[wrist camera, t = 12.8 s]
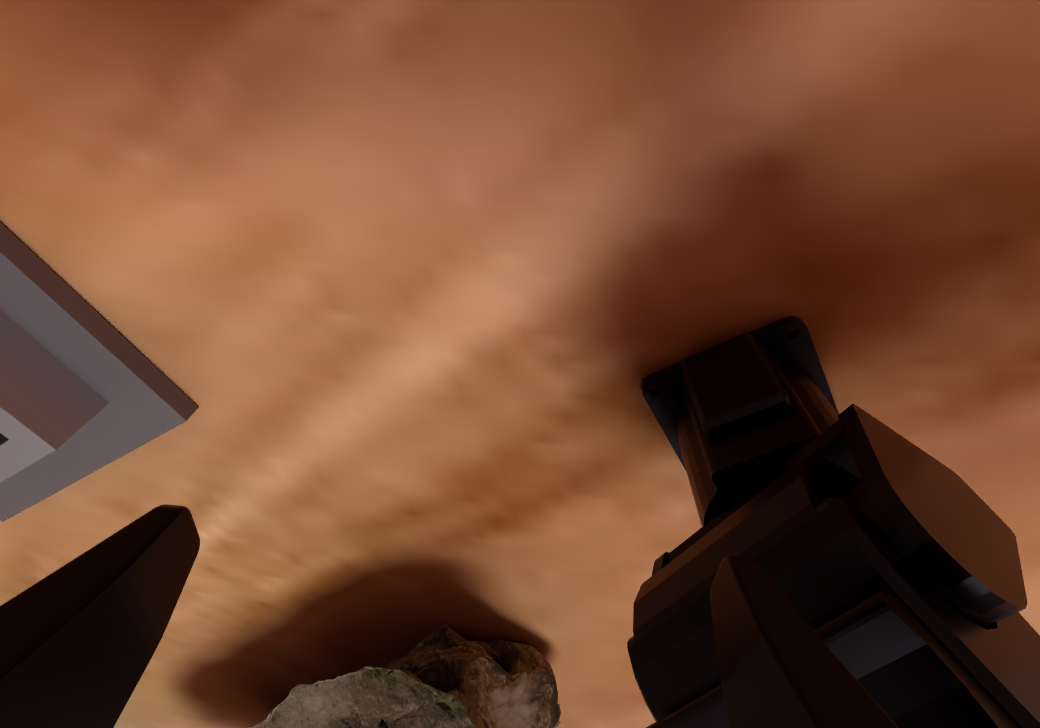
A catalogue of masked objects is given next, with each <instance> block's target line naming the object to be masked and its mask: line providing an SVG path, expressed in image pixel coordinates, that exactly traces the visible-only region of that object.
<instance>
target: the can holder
mask: <svg viewBox="0 0 1040 728" xmlns="http://www.w3.org/2000/svg"><path fill="white" fill-rule="evenodd" d="M198 408H199V407H198V406H197V405H196V404H195V403H194V402H193V401H192V400H191V399H190V398H189V397H188V396H186V395H185V394H184V393H183V392H182V391H181V390H180V389H179V388H178V387H177V386H176V385H175V384H174V383H173V382H171V381H170V380H169V379H168V378H167V377H166V376H165V375H164V374H163V373H162V372H161V371H160V370H159V369H158V368H156V367H155V366H154V365H153V364H152V363H151V362H150V361H149V360H148V359H147V358H146V357H145V356H144V355H143V354H141V353H140V352H139V351H138V350H137V349H136V348H135V347H134V346H133V345H132V344H131V343H130V342H129V341H128V340H126V339H125V338H124V337H123V336H122V335H121V334H120V333H119V332H118V331H117V330H116V329H115V328H114V327H113V326H111V325H110V324H109V323H108V322H107V321H106V320H105V319H104V318H103V317H102V316H101V315H100V314H99V313H98V312H96V311H95V310H94V309H93V308H92V307H91V306H90V305H89V304H88V303H87V302H86V301H85V300H84V299H83V298H81V297H80V296H79V295H78V294H77V293H76V292H75V291H74V290H73V289H72V288H71V287H70V286H69V285H68V284H66V283H65V282H64V281H63V280H62V279H61V278H60V277H59V276H58V275H57V274H56V273H55V272H54V271H53V270H51V269H50V268H49V267H48V266H47V265H46V264H45V263H44V262H43V261H42V260H41V259H40V258H39V257H38V256H36V255H35V254H34V253H33V252H32V251H31V250H30V249H29V248H28V247H27V246H26V245H25V244H24V243H23V242H21V241H20V240H19V239H18V238H17V237H16V236H15V235H14V234H13V233H12V232H11V231H10V230H9V229H8V228H6V227H5V226H4V225H3V224H2V223H1V222H0V520H1V521H2V522H3V521H5V520H7V519H9V518H11V517H12V516H14V515H16V514H18V513H20V512H21V511H23V510H25V509H27V508H29V507H31V506H32V505H34V504H36V503H38V502H40V501H42V500H43V499H45V498H47V497H49V496H51V495H52V494H54V493H56V492H58V491H60V490H62V489H63V488H65V487H67V486H69V485H71V484H72V483H74V482H76V481H78V480H80V479H82V478H83V477H85V476H87V475H89V474H91V473H92V472H94V471H96V470H98V469H100V468H102V467H103V466H105V465H107V464H109V463H111V462H113V461H114V460H116V459H118V458H120V457H122V456H123V455H125V454H127V453H129V452H131V451H133V450H134V449H136V448H138V447H140V446H142V445H143V444H145V443H147V442H149V441H151V440H153V439H154V438H156V437H158V436H160V435H162V434H164V433H165V432H167V431H169V430H171V429H173V428H174V427H176V426H178V425H180V424H182V423H184V422H185V421H187V420H188V419H189V417H190V416H191V415H192V414H193V413H194V412H195V411H196V410H197V409H198Z"/></svg>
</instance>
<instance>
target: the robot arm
mask: <svg viewBox="0 0 1040 728" xmlns="http://www.w3.org/2000/svg"><path fill="white" fill-rule="evenodd" d="M792 327H797V328H796V330H795V331H794V332H793V333H790V334H786V332H787V331H788V330H789V329H790V328H792ZM653 385H657V386H659V387H658V388H657V389H655V390H651V389H649V387H651V386H653ZM641 389H642V393H643V396H644V398H645V399H646V401H647V403H648V405H649V406H650V408H651V410H652V412H653V413H654V415H655V417H656V419H657V420H658V422H659V424H660V426H661V428H662V429H663V431H664V433H665V435H666V436H667V438H668V440H669V442H670V443H671V445H672V447H673V449H674V450H675V452H676V454H677V456H678V457H679V459H680V461H681V463H682V464H683V466H684V468H685V470H686V471H687V475H688V478H689V482H690V486H691V489H692V493H693V496H694V500H695V503H696V507H697V511H698V514H699V518H700V521H701V525H702V528H701V529H699V530H698V531H697V532H696V533H694V534H693V535H692V536H691V537H689V538H688V539H687V540H685V541H684V542H683V543H682V544H680V545H679V546H678V547H677V548H675V549H674V550H673V551H671V552H670V553H668V552H666V553H664V554H663V555H661V556H660V557H659V558H658V559H656V560H655V562H654V567H653V572H652V577H650V578H649V579H648V580H647V581H645V582H644V583H643V584H642V585H641V587H640V590H639V592H638V595H637V597H636V599H635V602H634V618H633V633H634V636H633V637H631V638H630V639H629V640H628V642H627V648H628V653H629V657H630V661H631V664H632V668H633V672H634V676H635V679H636V681H637V684H638V686H639V689H640V691H641V693H642V696H643V698H644V701H645V703H646V705H647V707H648V709H649V710H650V712H651V714H652V716H653V717H654V719H655V721H656V722H655V723H653V724H651V725H650V726H648V727H646V728H1040V635H1039V634H1038V633H1037V632H1036V631H1035V630H1034V629H1033V628H1032V627H1031V626H1030V624H1029V623H1028V622H1027V621H1026V620H1025V619H1024V618H1023V617H1022V616H1021V615H1020V613H1019V611H1021V610H1023V609H1025V608H1026V606H1027V598H1026V592H1025V587H1024V581H1023V575H1022V570H1021V564H1020V558H1019V553H1018V547H1017V541H1016V536H1015V534H1014V533H1013V532H1012V530H1011V529H1010V528H1009V527H1008V526H1007V525H1006V524H1005V523H1004V522H1003V521H1002V520H1001V519H1000V518H999V517H998V516H997V515H996V514H995V513H994V512H993V511H992V510H991V509H990V508H989V506H988V505H987V504H986V503H985V502H984V501H983V500H982V499H981V498H980V497H979V496H978V495H977V494H976V493H975V492H974V491H973V490H972V489H971V488H970V487H969V486H968V485H967V484H966V483H965V482H964V481H963V480H962V479H961V478H960V477H959V476H958V475H957V474H956V473H955V472H953V471H952V470H951V469H949V468H948V467H946V466H945V465H943V464H942V463H940V462H939V461H937V460H936V459H934V458H933V457H932V456H930V455H929V454H927V453H926V452H924V451H923V450H921V449H920V448H918V447H917V446H915V445H914V444H912V443H911V442H909V441H908V440H907V439H905V438H904V437H902V436H901V435H899V434H898V433H896V432H895V431H893V430H892V429H890V428H889V427H887V426H886V425H885V424H883V423H882V422H880V421H879V420H877V419H876V418H874V417H873V416H871V415H870V414H868V413H867V412H865V411H864V410H862V409H861V408H860V407H858V406H857V405H855V404H852V405H851V406H849V407H848V408H847V409H845V410H844V411H843V412H842V413H840V414H838V412H837V409H836V406H835V403H834V400H833V398H832V395H831V392H830V389H829V387H828V384H827V381H826V378H825V376H824V373H823V370H822V367H821V365H820V362H819V359H818V356H817V354H816V351H815V348H814V345H813V342H812V340H811V337H810V334H809V331H808V329H807V327H806V325H805V324H804V323H803V321H802V320H801V319H800V318H798V317H795V316H790V317H786V318H784V319H781V320H779V321H776V322H774V323H772V324H769V325H767V326H765V327H762V328H760V329H758V330H755V331H753V332H750V333H748V334H742V335H740V336H737V337H735V338H732V339H730V340H728V341H725V342H723V343H721V344H718V345H716V346H714V347H711V348H709V349H707V350H704V351H702V352H699V353H697V354H695V355H692V356H690V357H688V358H685V359H684V360H683V361H682V362H680V363H677V364H675V365H672V366H670V367H668V368H665V369H663V370H661V371H658V372H656V373H654V374H651V375H649V376H647V377H645V378H644V379H643V381H642V382H641ZM199 547H200V538H199V535H198V532H197V529H196V526H195V523H194V520H193V518H192V515H191V512H190V510H189V509H188V508H187V507H185V506H177V505H160V506H158V507H156V508H154V509H152V510H151V511H149V512H148V513H146V514H145V515H143V516H141V517H140V518H138V519H137V520H135V521H134V522H132V523H130V524H129V525H127V526H126V527H124V528H123V529H121V530H119V531H118V532H116V533H115V534H113V535H112V536H110V537H108V538H107V539H105V540H104V541H102V542H101V543H99V544H97V545H96V546H94V547H93V548H91V549H90V550H88V551H86V552H85V553H83V554H82V555H80V556H79V557H77V558H75V559H74V560H72V561H71V562H69V563H67V564H66V565H64V566H63V567H61V568H60V569H58V570H56V571H55V572H53V573H52V574H50V575H49V576H47V577H45V578H44V579H42V580H41V581H39V582H38V583H36V584H34V585H33V586H31V587H30V588H28V589H27V590H25V591H23V592H22V593H20V594H19V595H17V596H16V597H14V598H12V599H11V600H9V601H8V602H6V603H5V604H3V605H1V606H0V728H113V727H114V725H115V723H116V722H117V720H118V718H119V716H120V714H121V713H122V711H123V709H124V707H125V705H126V703H127V702H128V700H129V698H130V696H131V694H132V692H133V691H134V689H135V687H136V685H137V683H138V681H139V680H140V678H141V676H142V674H143V672H144V670H145V669H146V667H147V665H148V663H149V661H150V659H151V658H152V656H153V654H154V652H155V650H156V648H157V646H158V644H159V642H160V640H161V638H162V636H163V634H164V631H165V629H166V627H167V625H168V622H169V620H170V618H171V615H172V613H173V611H174V608H175V606H176V604H177V601H178V599H179V596H180V594H181V592H182V589H183V587H184V585H185V582H186V580H187V578H188V575H189V573H190V571H191V568H192V566H193V563H194V561H195V559H196V556H197V554H198V551H199Z"/></svg>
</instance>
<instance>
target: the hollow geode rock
mask: <svg viewBox="0 0 1040 728" xmlns="http://www.w3.org/2000/svg"><path fill="white" fill-rule="evenodd" d="M557 702H558V691H557V686H556V680H555V676H554V673H553V670H552V668H551V666H550V664H549V663H548V662H547V660H546V659H545V658H544V656H543V655H542V654H541V653H540V652H538V651H537V650H536V649H535V648H534V647H532V646H530V645H526V644H521V643H516V642H511V641H506V640H497V641H489V642H478V641H469V640H466V639H464V638H463V637H461V636H460V635H459V634H458V633H457V632H456V631H454V630H453V629H451V628H450V627H449V626H448V625H446V624H444V625H443V626H441V627H440V628H438V629H437V630H436V631H434V632H433V633H431V634H430V635H429V636H427V637H426V638H425V639H424V640H422V641H421V642H420V643H418V644H417V645H416V646H415V647H414V648H413V649H412V650H411V651H410V652H409V653H408V654H407V655H405V656H404V657H397V658H396V659H394V660H393V661H392V662H391V663H390V664H389V665H388V666H387V667H385V668H379V667H367V666H365V667H363V668H362V669H361V670H359V671H356V672H354V673H348V674H345V675H343V676H338V677H337V678H335V679H333V680H329V679H328V680H325V681H318V682H316V683H314V684H311V685H309V684H296V685H295V686H294V687H293V688H292V689H291V691H290V693H289V695H288V697H287V698H286V699H285V700H284V701H283V702H282V703H280V704H279V705H278V706H277V707H275V708H274V709H273V710H272V711H271V712H270V714H269V715H268V716H267V718H266V719H265V720H264V721H263V722H261V723H259V724H257V725H255V726H251V727H248V728H556V727H557V726H558V725H559V724H560V723H561V722H559V718H560V715H561V711H560V706H559V704H557Z"/></svg>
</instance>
